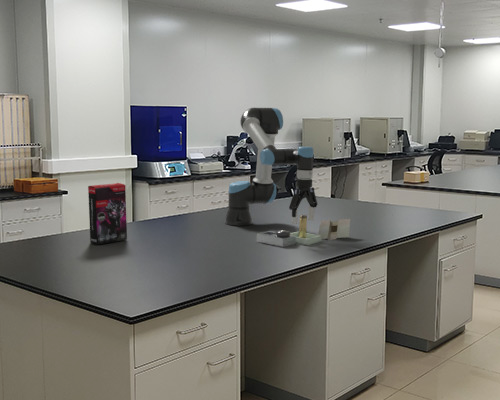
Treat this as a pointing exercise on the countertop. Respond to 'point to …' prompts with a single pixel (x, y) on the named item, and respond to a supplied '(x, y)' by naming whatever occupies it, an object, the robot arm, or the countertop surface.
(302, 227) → the lock pin
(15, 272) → the countertop surface
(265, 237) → the base
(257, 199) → the robot arm
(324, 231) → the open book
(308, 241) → the tray
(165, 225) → the countertop surface
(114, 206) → the graphics card box
